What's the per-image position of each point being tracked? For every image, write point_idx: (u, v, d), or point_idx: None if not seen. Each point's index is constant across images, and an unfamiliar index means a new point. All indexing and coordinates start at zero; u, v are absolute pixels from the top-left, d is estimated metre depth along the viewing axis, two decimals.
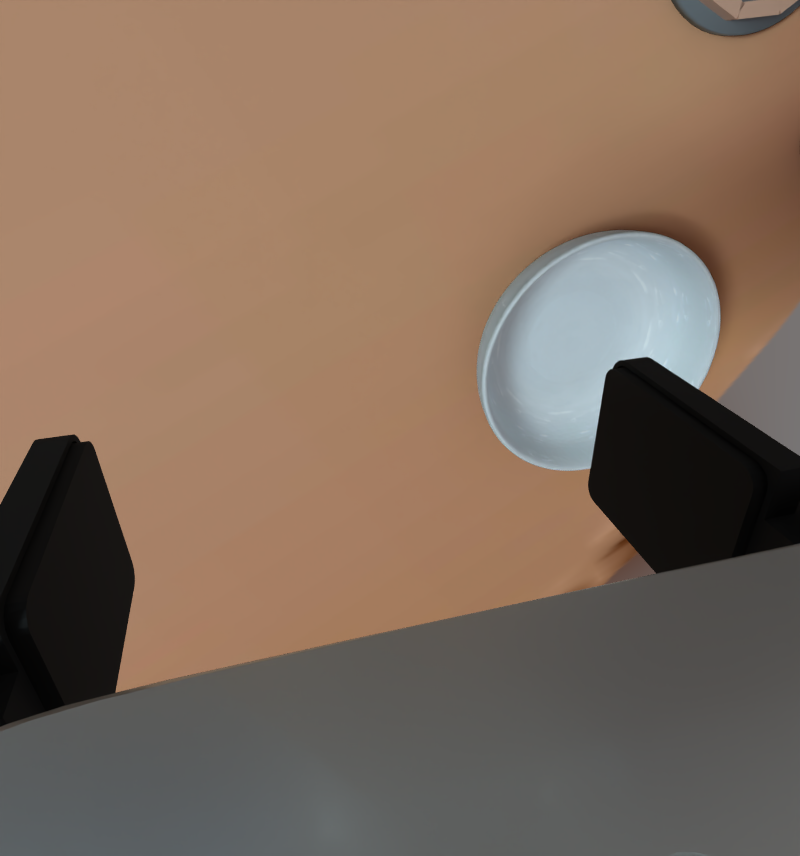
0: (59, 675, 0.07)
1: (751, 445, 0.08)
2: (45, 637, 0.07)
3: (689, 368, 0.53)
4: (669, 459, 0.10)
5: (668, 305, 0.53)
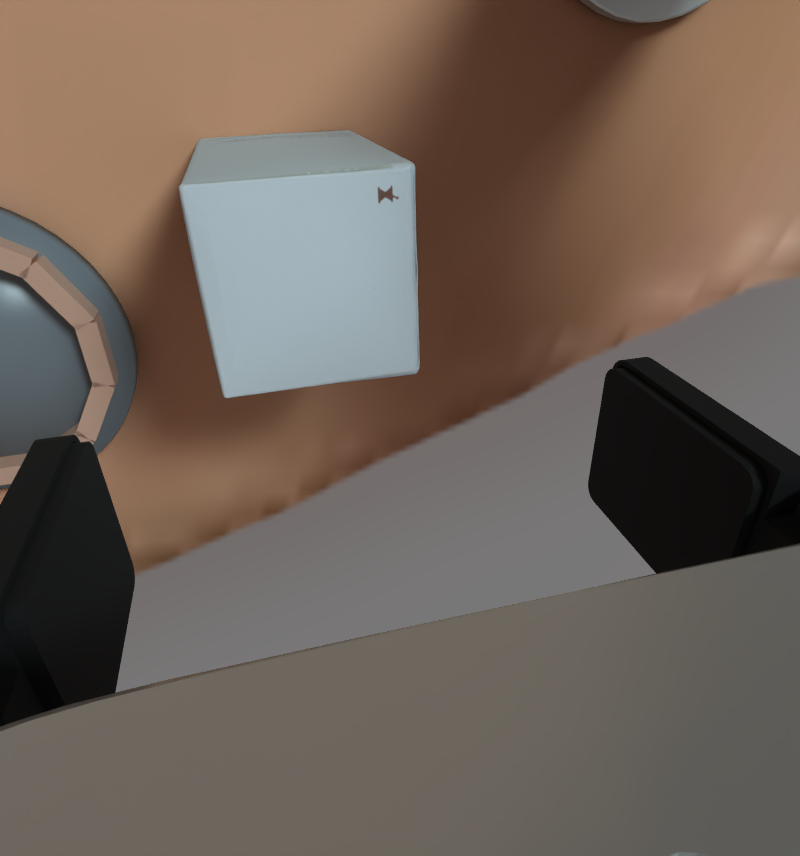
0: (59, 675, 0.07)
1: (751, 445, 0.08)
2: (45, 637, 0.07)
3: None
4: (669, 459, 0.10)
5: None
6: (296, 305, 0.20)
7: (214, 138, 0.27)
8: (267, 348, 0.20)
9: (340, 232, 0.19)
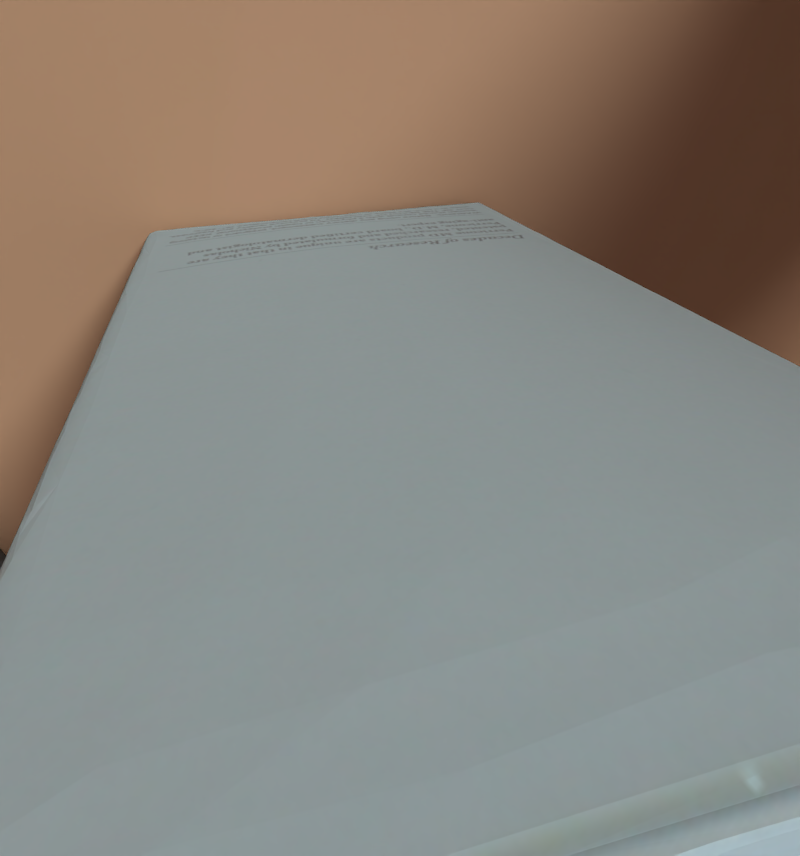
0: None
1: None
2: None
3: None
4: None
5: None
6: None
7: (184, 232, 0.12)
8: None
9: None
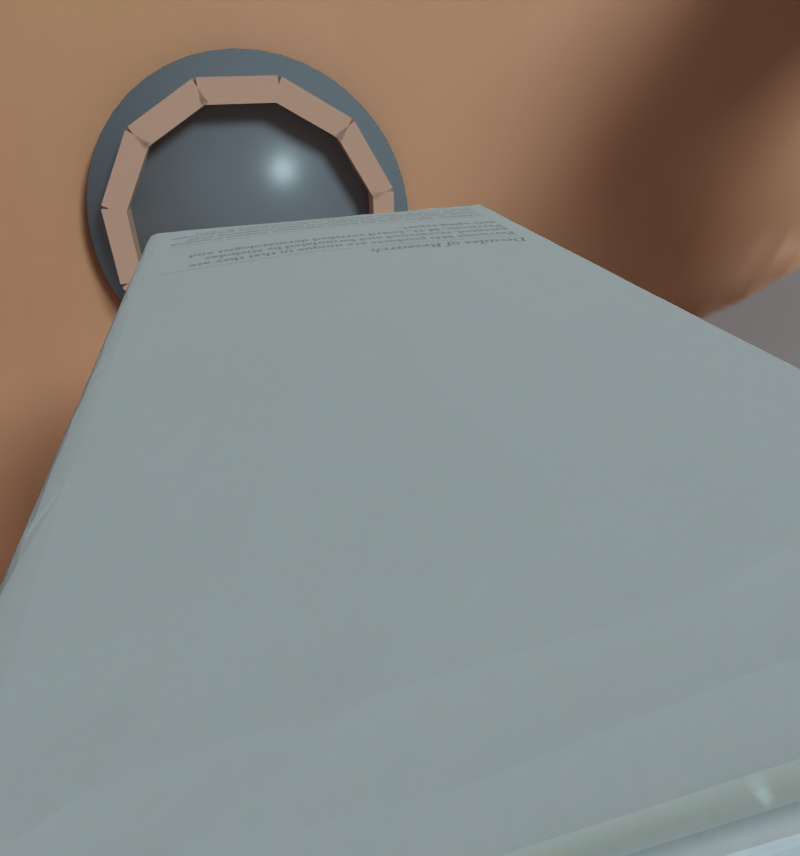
0: None
1: None
2: None
3: None
4: None
5: None
6: None
7: (185, 234, 0.12)
8: None
9: None
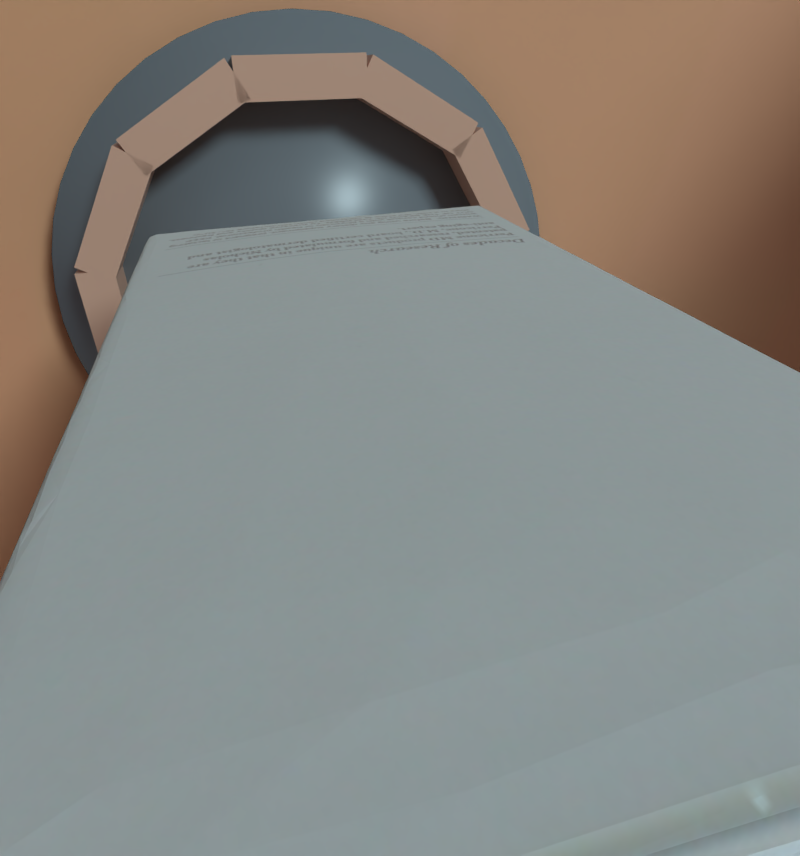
0: None
1: None
2: None
3: None
4: None
5: None
6: None
7: (184, 235, 0.12)
8: None
9: None
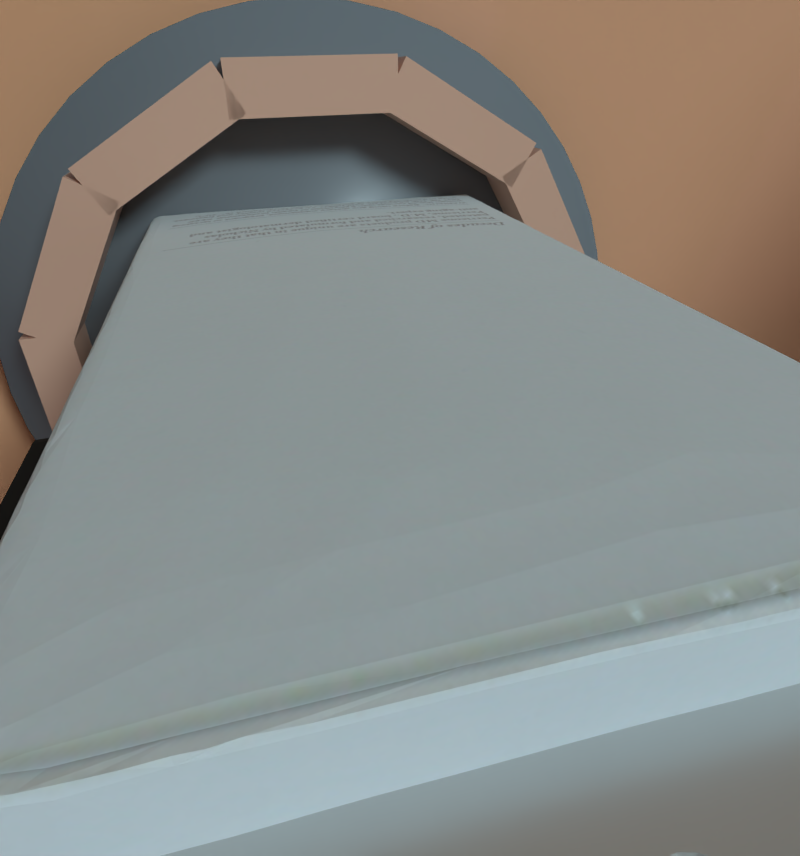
0: None
1: None
2: None
3: None
4: None
5: None
6: None
7: (186, 217, 0.12)
8: None
9: None
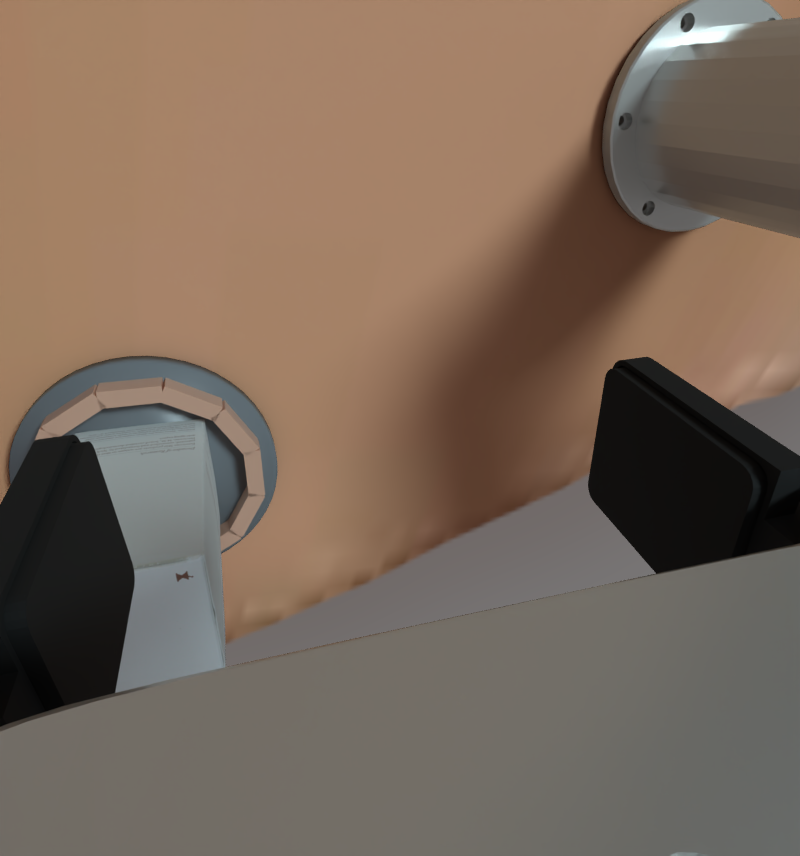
0: (59, 675, 0.07)
1: (751, 445, 0.08)
2: (45, 637, 0.07)
3: None
4: (669, 459, 0.10)
5: None
6: None
7: (85, 436, 0.34)
8: None
9: (148, 601, 0.26)
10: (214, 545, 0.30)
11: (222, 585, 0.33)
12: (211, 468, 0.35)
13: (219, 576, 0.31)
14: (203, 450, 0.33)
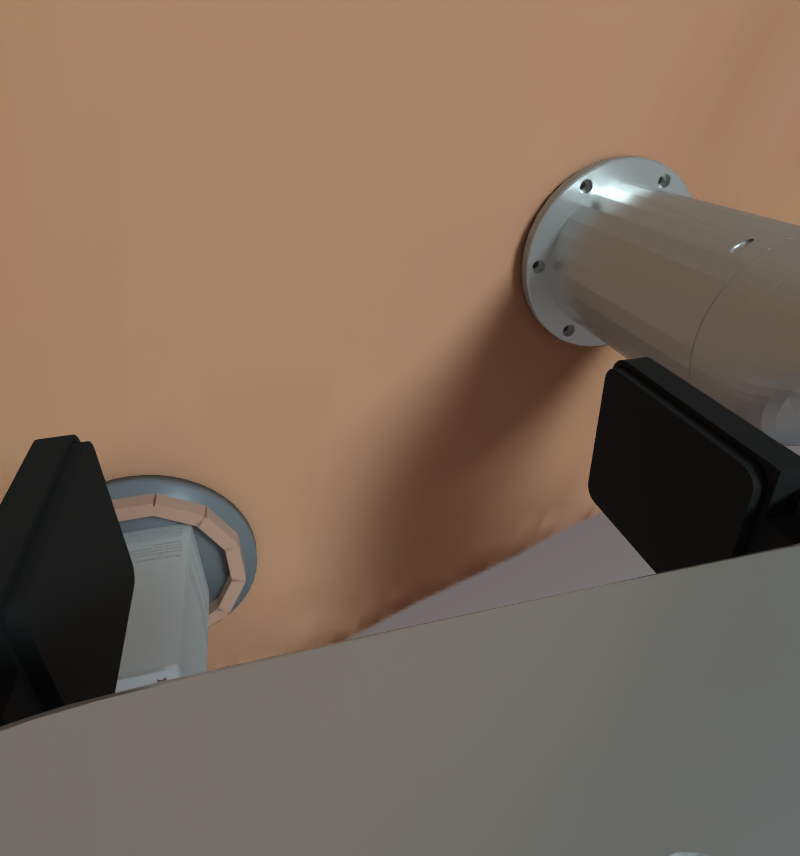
0: (59, 675, 0.07)
1: (751, 445, 0.08)
2: (45, 637, 0.07)
3: None
4: (669, 459, 0.10)
5: None
6: None
7: None
8: None
9: None
10: (194, 641, 0.37)
11: (205, 667, 0.40)
12: (197, 565, 0.42)
13: (200, 665, 0.38)
14: (187, 556, 0.40)
